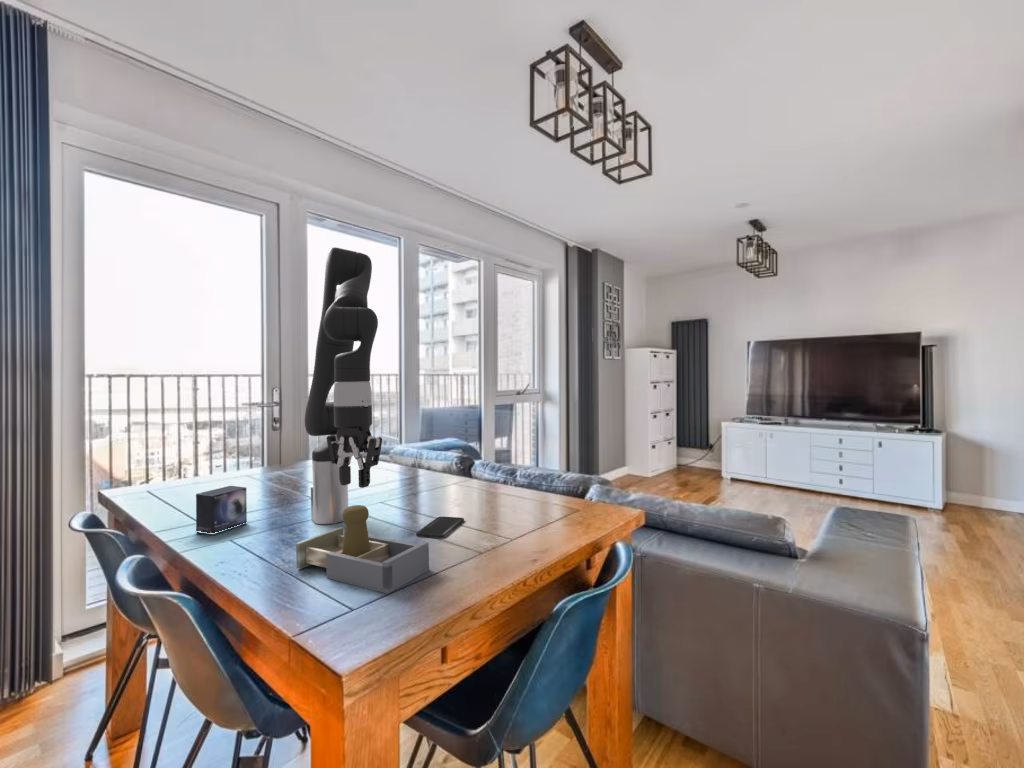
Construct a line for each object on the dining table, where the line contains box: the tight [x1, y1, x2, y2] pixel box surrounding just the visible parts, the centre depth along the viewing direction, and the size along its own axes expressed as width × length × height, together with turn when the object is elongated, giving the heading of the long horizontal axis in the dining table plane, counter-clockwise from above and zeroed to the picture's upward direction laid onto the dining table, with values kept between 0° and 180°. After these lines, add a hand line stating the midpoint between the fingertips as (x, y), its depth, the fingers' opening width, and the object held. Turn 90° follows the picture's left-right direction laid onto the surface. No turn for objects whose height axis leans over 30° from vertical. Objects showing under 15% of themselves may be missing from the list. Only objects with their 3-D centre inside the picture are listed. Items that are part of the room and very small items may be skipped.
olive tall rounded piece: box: [342, 504, 371, 557], centre depth 97 cm, size 6×6×11 cm
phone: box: [415, 516, 465, 539], centre depth 123 cm, size 8×1×15 cm
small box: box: [195, 485, 248, 533], centre depth 126 cm, size 11×6×10 cm, turn 161°
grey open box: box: [326, 534, 430, 594], centre depth 94 cm, size 16×12×6 cm
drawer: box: [295, 526, 389, 570], centre depth 99 cm, size 16×12×5 cm
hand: (354, 485), depth 97 cm, fingers open, 4 cm apart
